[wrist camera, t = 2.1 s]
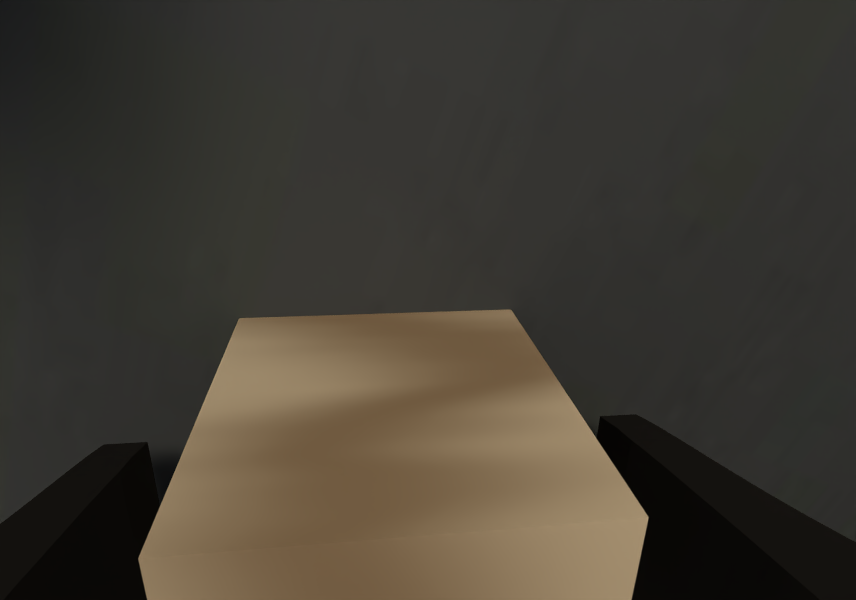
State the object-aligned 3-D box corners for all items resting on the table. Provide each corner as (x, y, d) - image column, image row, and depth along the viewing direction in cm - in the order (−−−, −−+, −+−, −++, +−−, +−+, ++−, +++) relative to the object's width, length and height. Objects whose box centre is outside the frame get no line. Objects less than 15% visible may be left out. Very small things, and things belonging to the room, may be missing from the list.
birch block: (509, 308, 10) (649, 517, 5) (493, 514, 12) (588, 806, 7) (239, 316, 9) (138, 558, 5) (263, 532, 11) (204, 862, 7)
